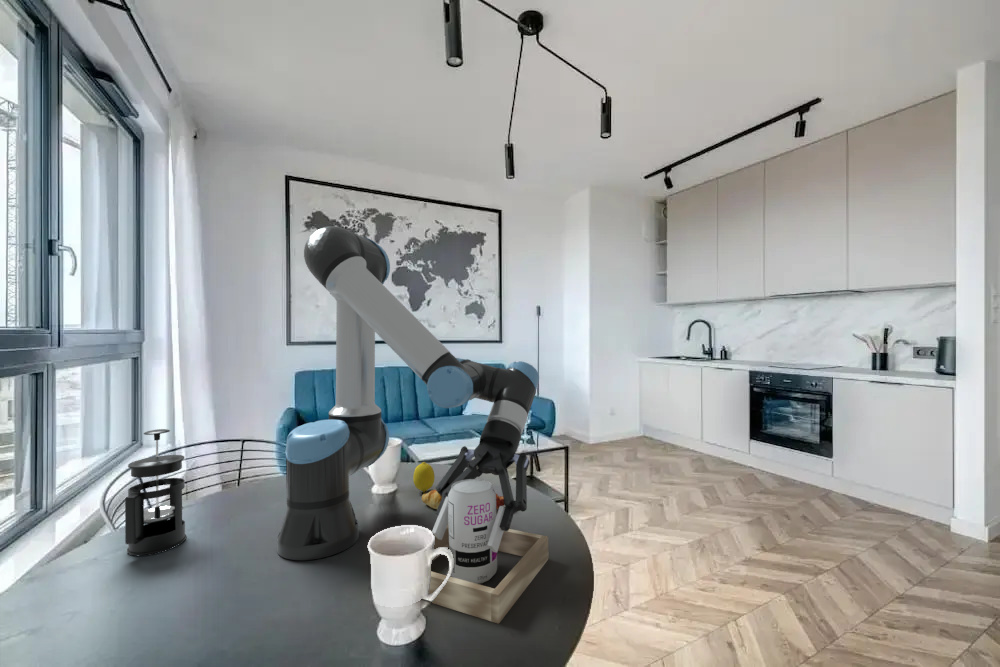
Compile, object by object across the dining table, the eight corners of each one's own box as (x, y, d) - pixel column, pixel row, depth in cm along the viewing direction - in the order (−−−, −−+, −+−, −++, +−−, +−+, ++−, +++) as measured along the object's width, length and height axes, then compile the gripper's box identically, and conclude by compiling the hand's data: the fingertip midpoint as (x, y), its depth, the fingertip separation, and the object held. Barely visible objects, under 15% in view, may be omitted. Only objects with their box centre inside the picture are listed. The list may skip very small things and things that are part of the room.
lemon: (430, 496, 112) (429, 465, 112) (410, 495, 113) (409, 464, 113) (437, 489, 117) (437, 459, 117) (418, 488, 118) (417, 458, 118)
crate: (388, 589, 70) (388, 564, 70) (455, 537, 88) (455, 518, 88) (498, 623, 61) (498, 595, 61) (548, 558, 79) (548, 536, 79)
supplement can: (471, 556, 80) (470, 475, 81) (506, 571, 75) (505, 483, 75) (439, 575, 74) (437, 487, 74) (474, 592, 69) (473, 497, 69)
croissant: (417, 524, 103) (410, 500, 100) (430, 491, 112) (424, 468, 109) (505, 528, 99) (500, 503, 95) (511, 494, 108) (507, 470, 104)
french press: (156, 533, 93) (156, 425, 93) (199, 532, 93) (198, 424, 93) (105, 561, 81) (104, 437, 81) (154, 560, 81) (153, 436, 81)
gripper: (563, 444, 83) (533, 565, 69) (462, 435, 94) (418, 538, 79) (553, 422, 79) (518, 546, 65) (448, 414, 89) (398, 520, 75)
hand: (463, 542), depth 72 cm, fingers open, 10 cm apart
